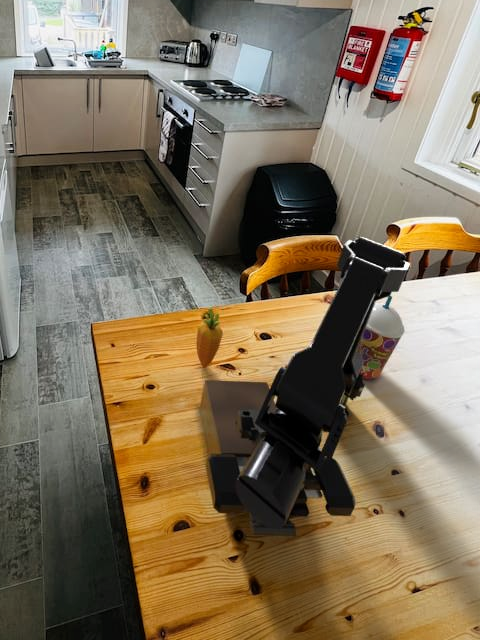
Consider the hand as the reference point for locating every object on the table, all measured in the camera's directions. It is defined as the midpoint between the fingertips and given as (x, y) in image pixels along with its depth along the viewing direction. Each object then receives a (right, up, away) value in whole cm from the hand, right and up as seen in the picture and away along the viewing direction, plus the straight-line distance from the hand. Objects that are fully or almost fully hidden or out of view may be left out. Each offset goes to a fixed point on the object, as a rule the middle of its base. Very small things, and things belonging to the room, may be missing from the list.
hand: (265, 517), depth 58 cm
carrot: (-3, +8, +27) cm, 28 cm away
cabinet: (0, +2, +13) cm, 13 cm away
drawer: (0, 0, +6) cm, 6 cm away
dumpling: (0, +1, +7) cm, 7 cm away
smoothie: (+32, +6, +29) cm, 43 cm away
